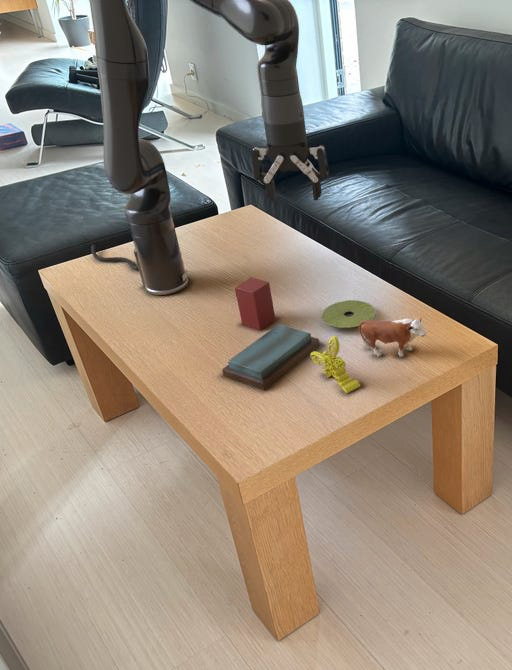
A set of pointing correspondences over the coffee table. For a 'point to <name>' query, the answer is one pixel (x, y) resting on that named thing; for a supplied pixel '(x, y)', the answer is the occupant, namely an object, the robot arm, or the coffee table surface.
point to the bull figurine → (390, 333)
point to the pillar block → (255, 303)
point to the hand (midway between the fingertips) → (295, 199)
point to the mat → (348, 313)
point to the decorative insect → (331, 368)
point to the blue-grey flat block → (270, 356)
